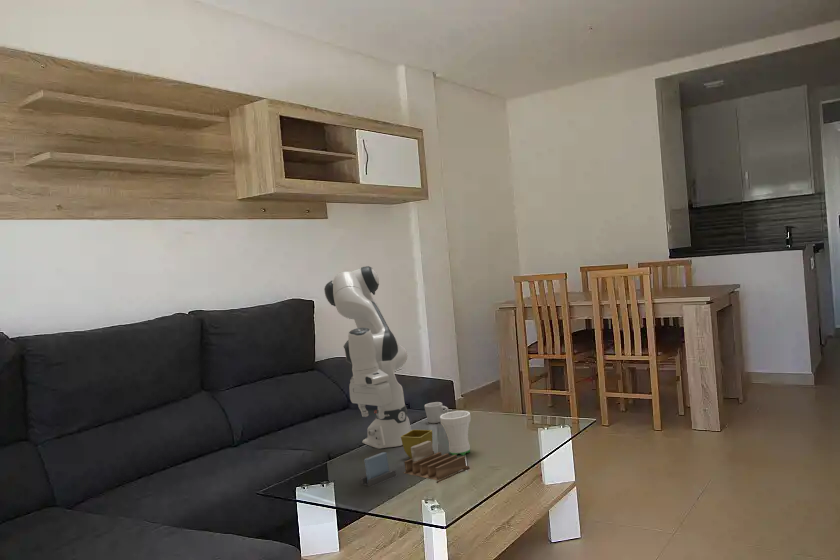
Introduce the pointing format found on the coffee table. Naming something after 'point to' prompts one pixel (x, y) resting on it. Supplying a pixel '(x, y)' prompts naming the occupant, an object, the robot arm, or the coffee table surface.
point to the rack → (433, 463)
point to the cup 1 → (434, 411)
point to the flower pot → (415, 439)
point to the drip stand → (378, 478)
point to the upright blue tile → (376, 465)
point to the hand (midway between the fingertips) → (373, 417)
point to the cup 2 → (457, 431)
